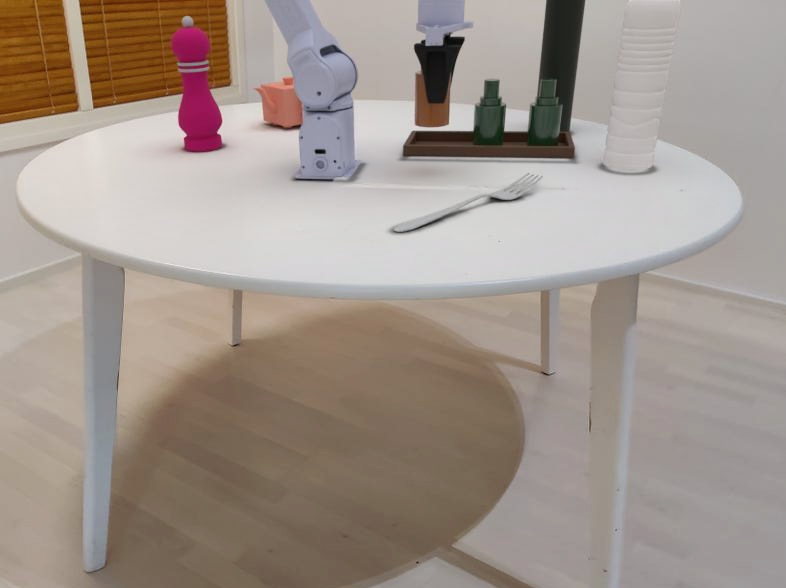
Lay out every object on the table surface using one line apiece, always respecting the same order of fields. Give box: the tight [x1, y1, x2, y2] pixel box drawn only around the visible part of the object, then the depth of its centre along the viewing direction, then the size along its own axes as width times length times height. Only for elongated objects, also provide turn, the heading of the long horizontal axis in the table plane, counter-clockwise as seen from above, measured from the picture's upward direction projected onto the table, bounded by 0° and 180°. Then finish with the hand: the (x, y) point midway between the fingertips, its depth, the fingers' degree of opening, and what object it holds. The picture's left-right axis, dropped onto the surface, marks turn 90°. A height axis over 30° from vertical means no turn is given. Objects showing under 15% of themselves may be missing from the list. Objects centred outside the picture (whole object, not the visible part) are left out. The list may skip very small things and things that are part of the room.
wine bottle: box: [536, 0, 586, 132], centre depth 111 cm, size 6×6×30 cm
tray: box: [402, 130, 576, 160], centre depth 108 cm, size 11×25×2 cm, turn 77°
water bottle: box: [601, 0, 682, 171], centre depth 92 cm, size 9×6×25 cm
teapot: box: [252, 76, 303, 129], centre depth 131 cm, size 12×15×8 cm
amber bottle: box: [414, 68, 452, 128], centre depth 92 cm, size 5×5×10 cm
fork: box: [393, 172, 544, 233], centre depth 85 cm, size 3×24×2 cm, turn 128°
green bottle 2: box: [526, 78, 563, 146], centre depth 104 cm, size 5×5×10 cm
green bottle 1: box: [472, 78, 507, 146], centre depth 106 cm, size 5×5×10 cm
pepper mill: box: [170, 15, 223, 152], centre depth 114 cm, size 7×7×20 cm
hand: (438, 99), depth 93 cm, fingers closed on amber bottle, 4 cm apart
